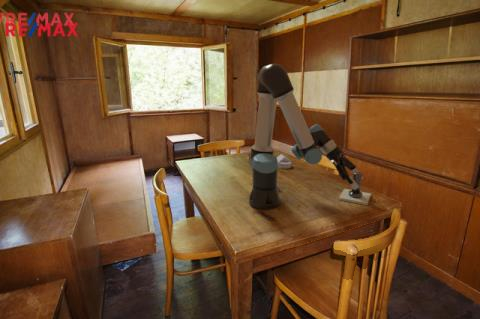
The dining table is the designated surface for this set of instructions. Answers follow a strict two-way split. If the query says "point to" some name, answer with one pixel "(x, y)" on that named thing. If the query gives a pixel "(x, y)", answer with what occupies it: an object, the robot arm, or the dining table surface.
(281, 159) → the wedge on round base
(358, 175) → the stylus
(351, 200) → the pad
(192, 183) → the dining table surface
